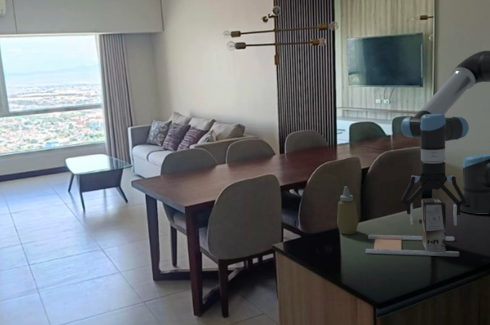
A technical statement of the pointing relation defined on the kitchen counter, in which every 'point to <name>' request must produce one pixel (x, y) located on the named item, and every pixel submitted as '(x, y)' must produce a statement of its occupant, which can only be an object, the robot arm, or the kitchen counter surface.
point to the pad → (387, 244)
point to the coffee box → (434, 224)
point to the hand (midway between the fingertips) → (433, 224)
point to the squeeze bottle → (347, 213)
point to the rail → (408, 252)
